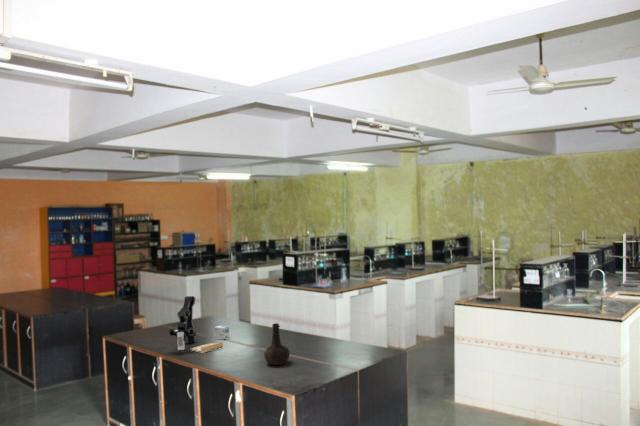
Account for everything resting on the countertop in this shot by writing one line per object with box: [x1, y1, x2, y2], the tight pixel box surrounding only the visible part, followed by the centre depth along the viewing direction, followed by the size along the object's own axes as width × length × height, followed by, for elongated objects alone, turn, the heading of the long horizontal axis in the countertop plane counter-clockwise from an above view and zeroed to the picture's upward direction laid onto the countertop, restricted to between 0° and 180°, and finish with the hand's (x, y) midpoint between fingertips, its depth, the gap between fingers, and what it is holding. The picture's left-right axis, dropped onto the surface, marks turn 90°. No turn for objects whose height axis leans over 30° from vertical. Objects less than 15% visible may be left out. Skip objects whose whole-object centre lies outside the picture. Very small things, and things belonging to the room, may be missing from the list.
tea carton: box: [176, 332, 186, 351], centre depth 395 cm, size 4×4×13 cm
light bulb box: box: [214, 325, 230, 340], centre depth 439 cm, size 11×7×11 cm, turn 65°
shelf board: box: [189, 342, 224, 354], centre depth 405 cm, size 16×20×2 cm
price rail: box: [201, 341, 224, 352], centre depth 400 cm, size 1×20×3 cm, turn 138°
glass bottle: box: [263, 323, 290, 366], centre depth 359 cm, size 18×18×28 cm
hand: (180, 341), depth 394 cm, fingers closed on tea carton, 4 cm apart
